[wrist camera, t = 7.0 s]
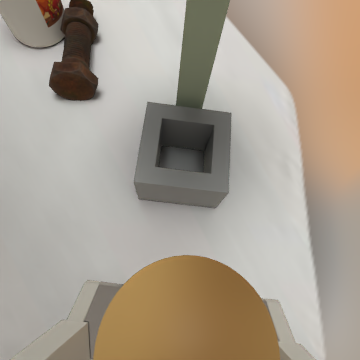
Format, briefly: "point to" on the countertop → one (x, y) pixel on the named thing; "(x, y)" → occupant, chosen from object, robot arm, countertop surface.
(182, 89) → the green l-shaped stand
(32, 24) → the milk bottle
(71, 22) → the bolt
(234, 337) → the peg
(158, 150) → the socket
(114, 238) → the countertop surface
